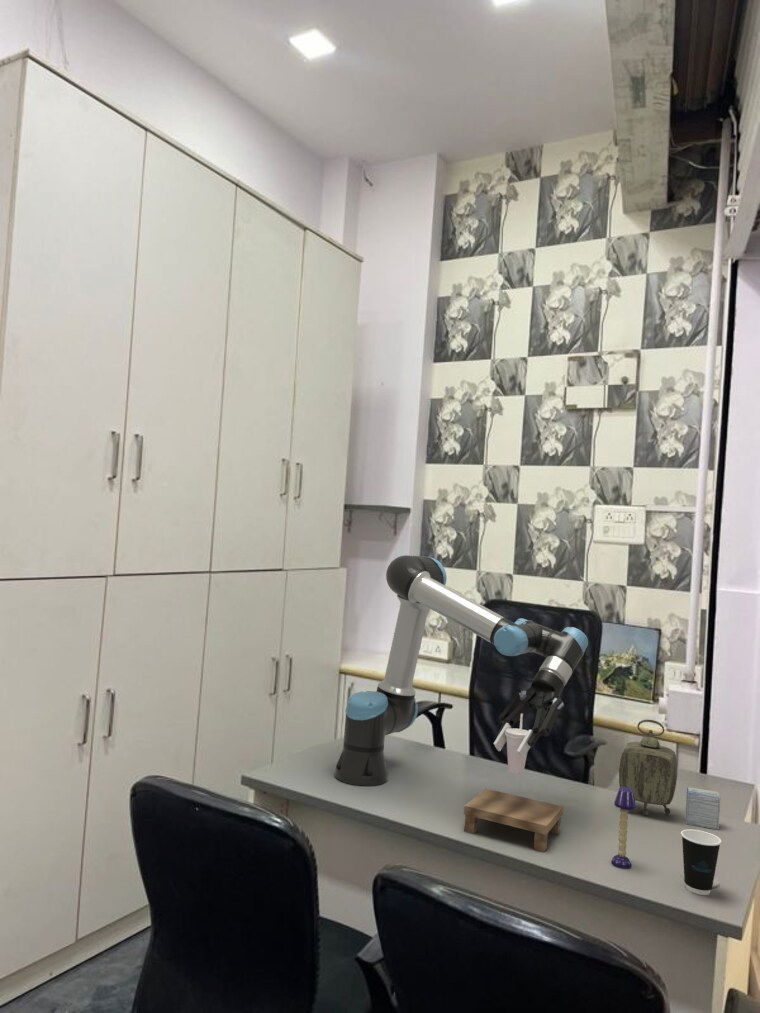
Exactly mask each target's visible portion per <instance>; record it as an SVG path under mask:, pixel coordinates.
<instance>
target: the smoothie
mask: <svg viewBox="0 0 760 1013" xmlns="http://www.w3.org/2000/svg"><path fill="white" fill-rule="evenodd" d="M523 717H524V716H523V714H521V716H520V720H519V721H520V722H519V728H516V727H515V728H514V727H513V728H512V727H511V728H510V729H506V730H505V735H506V738H507V741H506V751H507V752H506V754H507V771H508V772H510V773H512V774H515V775H521V774H524V772H525V766H526V762H527V756H528V753H527V754H526V756H525V757H524V759H522V758H521V757H520V756H519V754H518V752H517V750H518V748H519V746H520V745H521V743H522V741H523V739H524V738H525V736H526V734H527V733H528V731H529V730H527V729H523V719H524V718H523Z"/></svg>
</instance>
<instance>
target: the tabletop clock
mask: <svg viewBox="0 0 760 1013" xmlns="http://www.w3.org/2000/svg"><path fill="white" fill-rule="evenodd" d="M642 723H653V724H656V725H658V726H660V727H661V729H662V731H661V732H659V733H654V732H653V730H651V729H649V730H648V732H646V731H644V730H642V728H640V725H641V724H642ZM637 730H638V731H639V732H640V733H642V734H644V735H646V736H643V737H641V740H640V741H631V742H630V741H629V742H628V743H626V746H625V748H624V749H623V751H622V753H621V756H620V761H619V767H618V783H619V788H620V787H628V788H631V789H632V790H633V793H634V798H635V802H636V801H637V802H640V803H643V804H644V806H643V807H644V808H643V809H642V811H641V814H642V815H643V816H645V817H646V816H648V814H649V810H648V809H647V808H648V804H649V805H656V806H663V808H664V810H663V812H664V814H665V815H670V814H671V809H670V808H668V807H667V805H671V803H672V801H673V799H674V796H675V793H676V792H675V791H676V786H677V781H678V780H677V779H678V760H677V759H678V758H677V755H676V751H675V750H673V749H671V748H670V747H668V746H664V745H661V744H660V742H659V739H658V738H656V737H659V736H660V737H661V736H662V735H664V733H665V726H664V725H663V724H662V723H661V722H659V721H657V720H654V719H642V720H641V721H639V722H638V723H637Z"/></svg>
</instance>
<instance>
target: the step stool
mask: <svg viewBox="0 0 760 1013" xmlns="http://www.w3.org/2000/svg"><path fill="white" fill-rule="evenodd" d="M463 808H464V809H463V815H464V825H463V826H464V827H463V828H464V829H463V831H464V832H466V833H470V834H475V833H476V832H477V831H478V821H479V819H482V820H486V821H489V822H493V823H498V824H501V825H505V826H510V827H513V828H517V829H522V830H525V831H529V832H533V833H534V839H533V840H534V842H533V850H534V851H537V852H541V853H542V852H543V853H545V851H546V850H547V847H548V835H549V833H551V834H555V835H559V833H561V823H562V816H563V814H564V806H561V805H558V804H554V803H548V802H545V801H541V800H537V799H532V798H529V797H528V798H527V797H524V796H519V795H515V794H513V793H508V792H503V791H502V792H501V791H497V790H493V789H491V788H485V789H483V790H482V791H481V792H480V793H478V794H477V795H476V796H474V797H473V798H472V799H470V801H468V802H467V803H466V804H464V807H463Z"/></svg>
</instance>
